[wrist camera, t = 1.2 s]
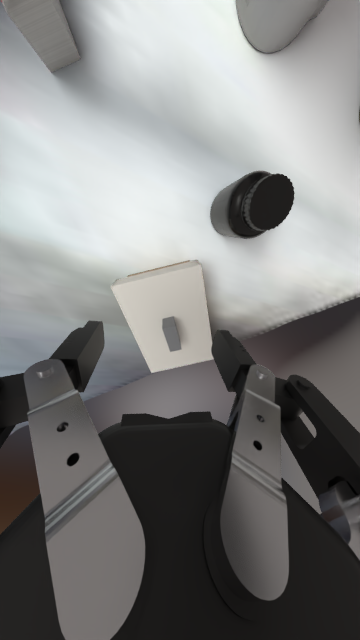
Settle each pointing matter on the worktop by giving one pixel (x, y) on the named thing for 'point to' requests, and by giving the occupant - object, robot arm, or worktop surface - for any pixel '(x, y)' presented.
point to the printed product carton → (44, 30)
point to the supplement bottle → (252, 205)
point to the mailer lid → (167, 315)
